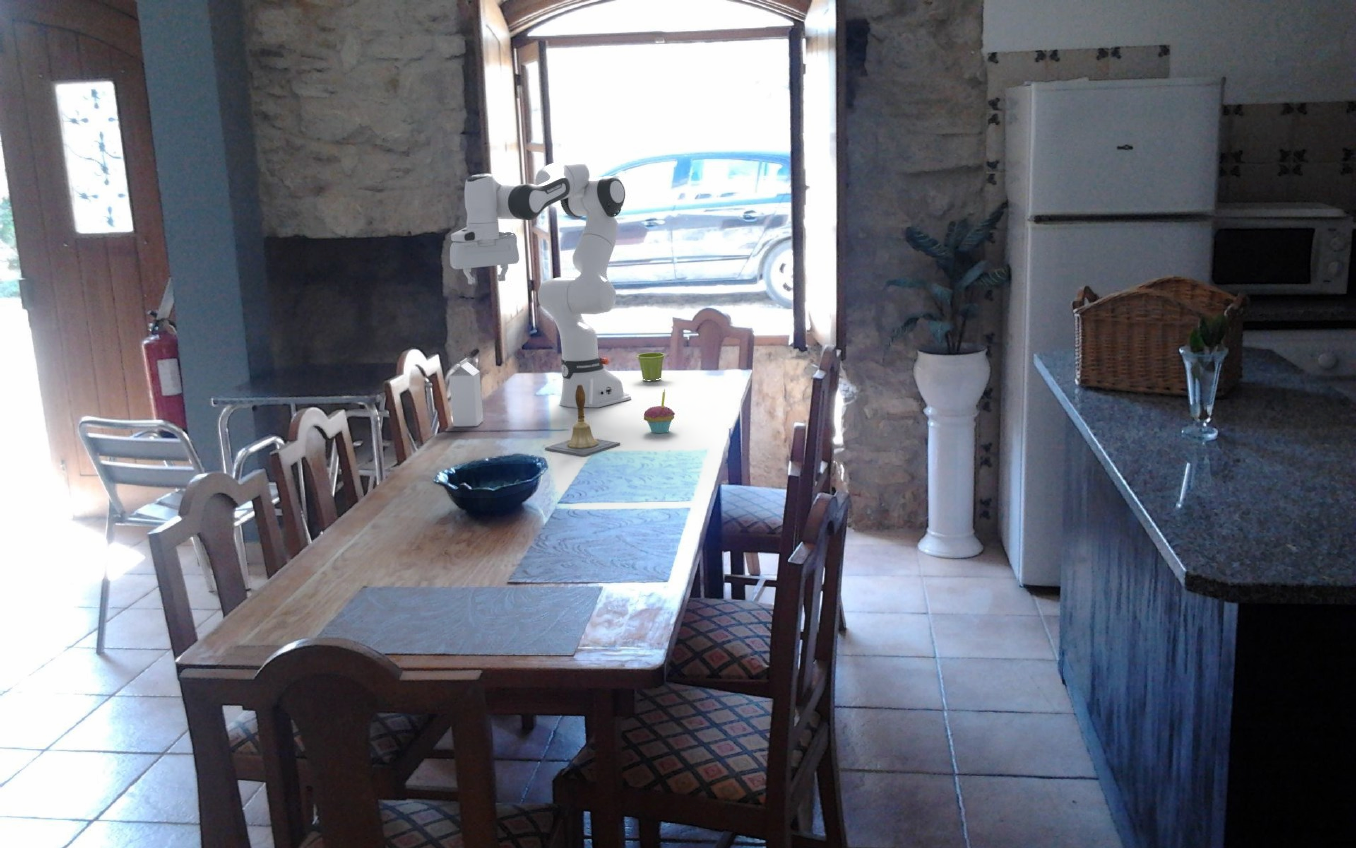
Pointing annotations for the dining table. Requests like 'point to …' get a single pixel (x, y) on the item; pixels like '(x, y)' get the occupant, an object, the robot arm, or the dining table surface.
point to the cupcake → (659, 417)
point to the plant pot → (651, 365)
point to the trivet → (582, 451)
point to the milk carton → (466, 395)
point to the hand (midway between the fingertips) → (486, 282)
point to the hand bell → (581, 425)
